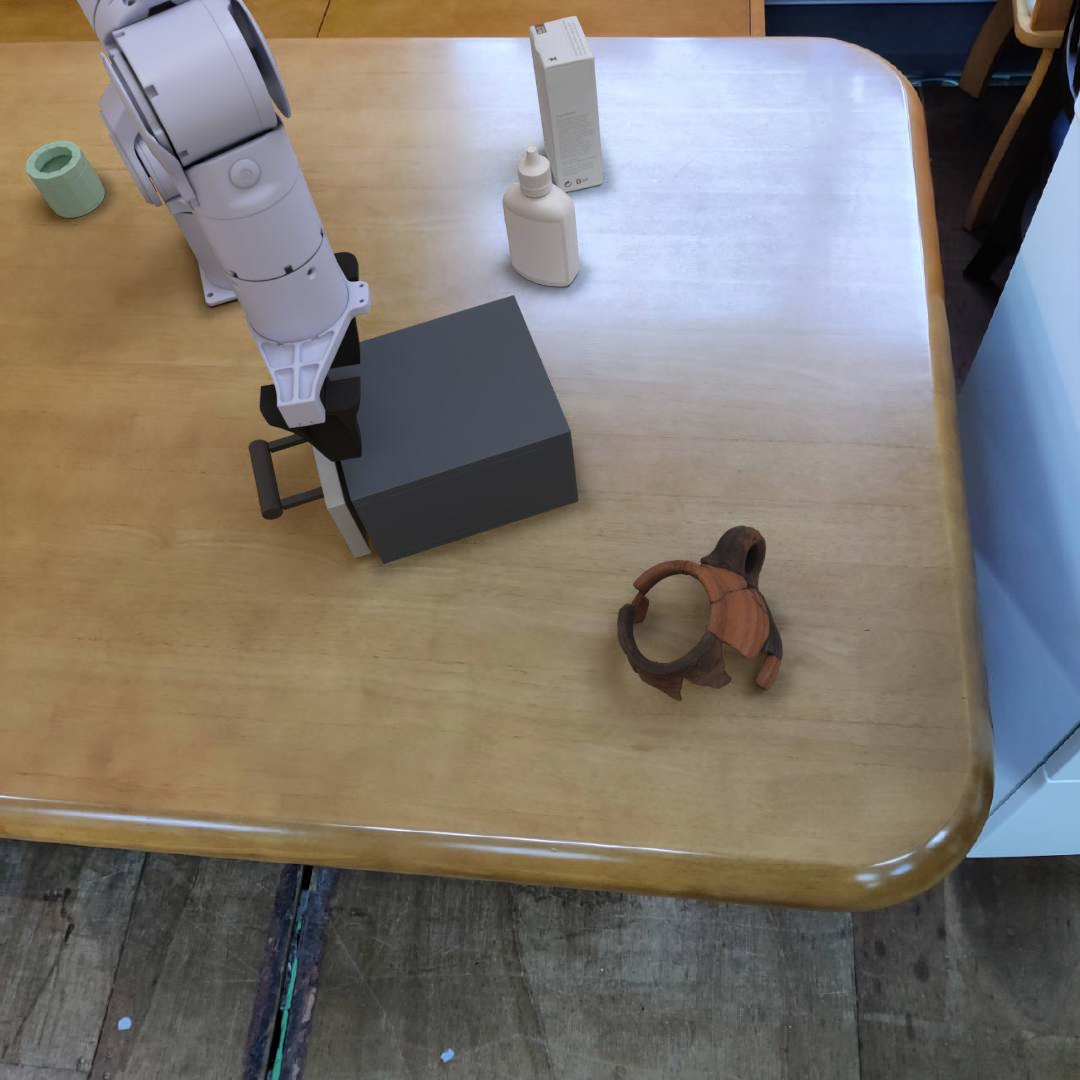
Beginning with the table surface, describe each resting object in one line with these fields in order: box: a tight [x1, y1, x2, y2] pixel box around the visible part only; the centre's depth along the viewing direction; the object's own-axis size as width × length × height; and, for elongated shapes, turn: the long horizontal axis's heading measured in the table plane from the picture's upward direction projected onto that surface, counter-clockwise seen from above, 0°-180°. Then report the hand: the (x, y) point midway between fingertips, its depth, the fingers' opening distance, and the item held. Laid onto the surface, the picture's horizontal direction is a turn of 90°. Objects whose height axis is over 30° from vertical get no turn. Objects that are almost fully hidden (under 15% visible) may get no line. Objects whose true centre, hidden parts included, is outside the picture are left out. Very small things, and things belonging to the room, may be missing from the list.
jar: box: [25, 140, 106, 219], centre depth 87 cm, size 5×5×4 cm
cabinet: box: [327, 294, 579, 564], centre depth 67 cm, size 15×13×9 cm
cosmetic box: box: [528, 15, 604, 193], centre depth 80 cm, size 6×4×12 cm
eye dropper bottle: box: [502, 145, 581, 287], centre depth 74 cm, size 4×6×12 cm
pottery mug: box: [616, 524, 784, 702], centre depth 60 cm, size 12×10×8 cm
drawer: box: [248, 433, 372, 559], centre depth 67 cm, size 18×11×7 cm, turn 108°
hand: (345, 407), depth 61 cm, fingers open, 7 cm apart
